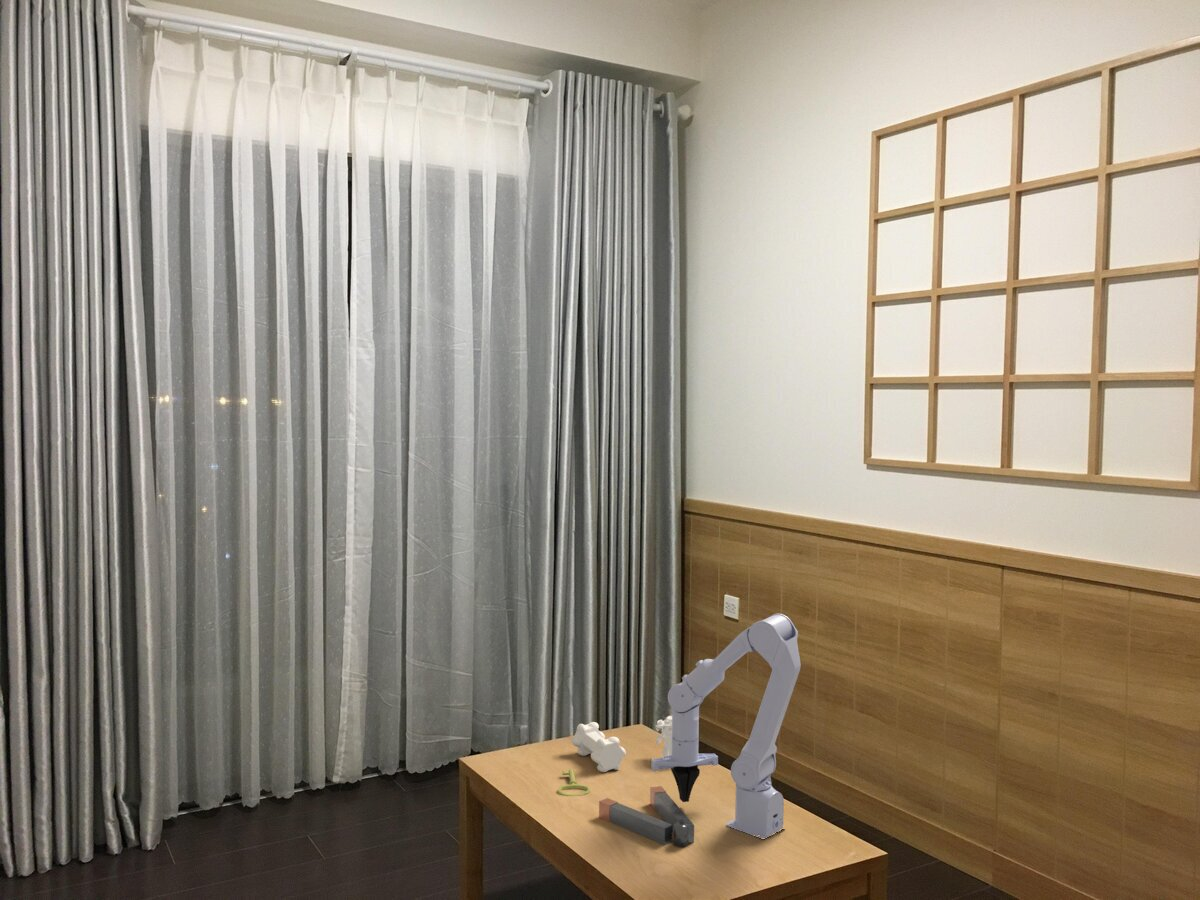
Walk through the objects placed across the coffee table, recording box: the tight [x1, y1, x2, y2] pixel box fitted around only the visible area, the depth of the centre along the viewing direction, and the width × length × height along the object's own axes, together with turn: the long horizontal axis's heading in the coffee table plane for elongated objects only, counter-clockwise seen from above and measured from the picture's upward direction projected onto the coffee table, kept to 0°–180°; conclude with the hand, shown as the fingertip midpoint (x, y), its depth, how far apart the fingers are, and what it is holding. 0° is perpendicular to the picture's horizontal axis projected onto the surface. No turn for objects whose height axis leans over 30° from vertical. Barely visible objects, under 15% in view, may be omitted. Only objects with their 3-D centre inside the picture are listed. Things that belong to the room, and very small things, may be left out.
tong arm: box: [649, 785, 695, 848], centre depth 199 cm, size 21×4×4 cm, turn 16°
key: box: [557, 768, 591, 797], centre depth 219 cm, size 7×12×2 cm, turn 24°
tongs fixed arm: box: [598, 797, 674, 846], centre depth 197 cm, size 18×2×4 cm, turn 46°
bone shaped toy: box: [570, 721, 627, 773], centre depth 234 cm, size 15×9×8 cm, turn 25°
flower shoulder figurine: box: [654, 715, 672, 757], centre depth 235 cm, size 9×4×12 cm, turn 38°
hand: (684, 800), depth 207 cm, fingers closed
